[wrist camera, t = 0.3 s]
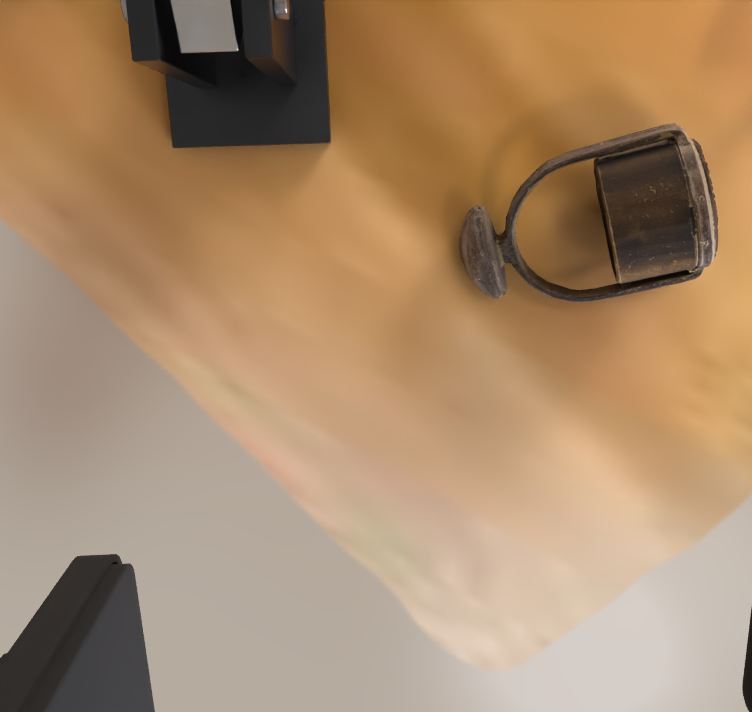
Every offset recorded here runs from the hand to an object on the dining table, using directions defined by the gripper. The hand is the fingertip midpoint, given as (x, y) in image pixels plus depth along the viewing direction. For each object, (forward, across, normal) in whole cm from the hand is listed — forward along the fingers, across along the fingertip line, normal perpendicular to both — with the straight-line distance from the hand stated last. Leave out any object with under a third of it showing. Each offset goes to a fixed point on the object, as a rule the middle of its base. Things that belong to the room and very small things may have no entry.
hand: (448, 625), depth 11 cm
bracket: (+30, +6, -12) cm, 33 cm away
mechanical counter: (+31, -10, -3) cm, 32 cm away
